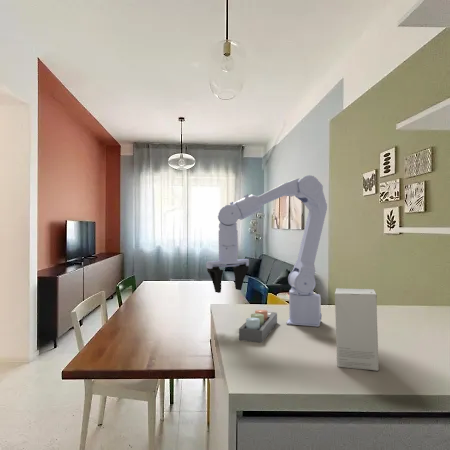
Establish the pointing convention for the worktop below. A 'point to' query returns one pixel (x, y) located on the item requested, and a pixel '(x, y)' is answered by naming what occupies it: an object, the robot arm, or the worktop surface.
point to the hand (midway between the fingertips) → (228, 290)
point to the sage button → (258, 317)
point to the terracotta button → (263, 313)
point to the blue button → (253, 323)
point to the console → (258, 334)
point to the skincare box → (356, 328)
